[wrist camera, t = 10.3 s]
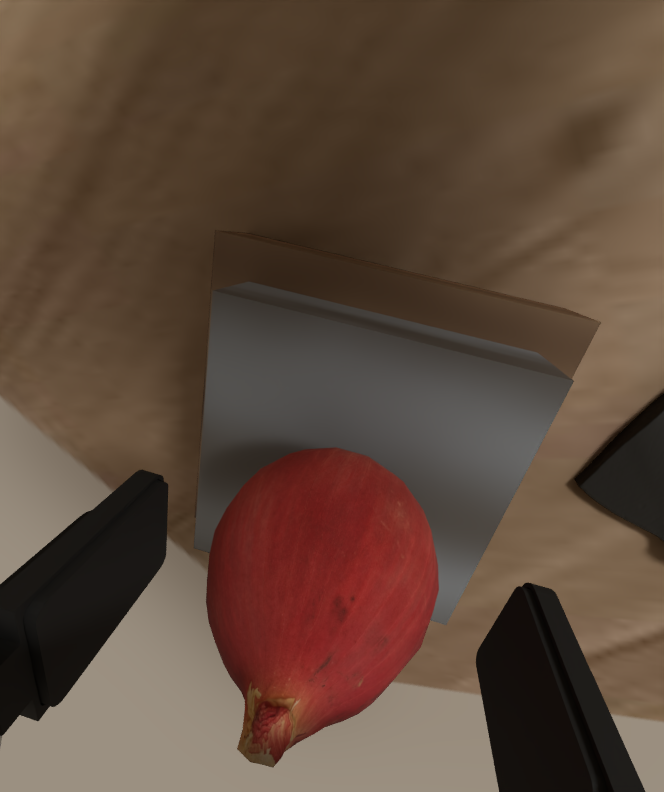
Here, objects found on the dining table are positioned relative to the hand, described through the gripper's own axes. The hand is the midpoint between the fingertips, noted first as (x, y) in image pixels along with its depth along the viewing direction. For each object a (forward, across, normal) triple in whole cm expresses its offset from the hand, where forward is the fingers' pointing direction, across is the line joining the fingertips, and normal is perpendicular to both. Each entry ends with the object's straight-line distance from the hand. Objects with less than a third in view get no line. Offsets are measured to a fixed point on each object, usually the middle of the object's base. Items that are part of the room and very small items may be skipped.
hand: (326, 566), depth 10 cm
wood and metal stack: (+10, 0, 0) cm, 10 cm away
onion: (+4, 0, 0) cm, 4 cm away
